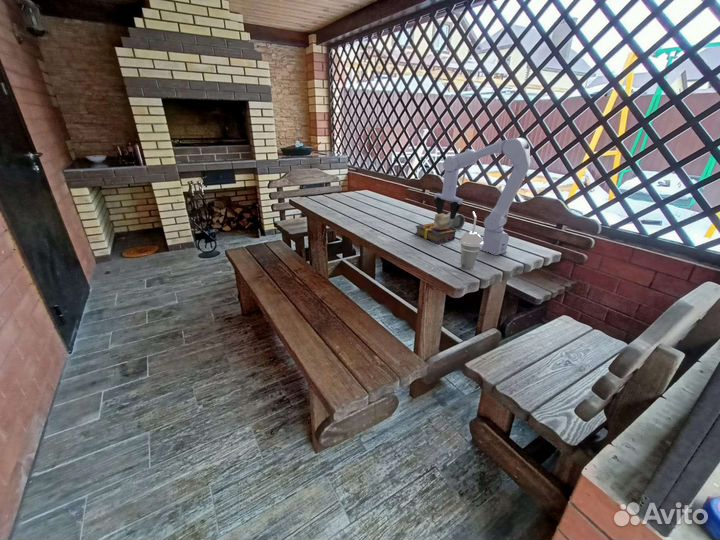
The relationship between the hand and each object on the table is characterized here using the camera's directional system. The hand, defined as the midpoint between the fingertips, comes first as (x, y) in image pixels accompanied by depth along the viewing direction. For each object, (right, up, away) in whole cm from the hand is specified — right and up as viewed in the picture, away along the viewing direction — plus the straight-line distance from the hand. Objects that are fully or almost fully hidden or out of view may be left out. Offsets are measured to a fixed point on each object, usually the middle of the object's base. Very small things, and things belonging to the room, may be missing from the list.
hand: (445, 216), depth 147 cm
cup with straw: (+1, -23, -25) cm, 34 cm away
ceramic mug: (+8, -3, +20) cm, 21 cm away
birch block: (-2, -5, +3) cm, 6 cm away
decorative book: (-3, -9, +6) cm, 11 cm away
